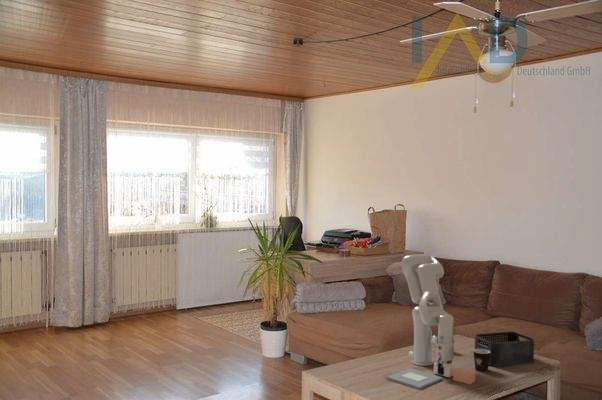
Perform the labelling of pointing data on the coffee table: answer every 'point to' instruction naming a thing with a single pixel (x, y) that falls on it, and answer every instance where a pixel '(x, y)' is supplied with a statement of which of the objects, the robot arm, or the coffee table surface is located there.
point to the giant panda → (436, 339)
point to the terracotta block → (464, 375)
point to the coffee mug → (482, 359)
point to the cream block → (445, 369)
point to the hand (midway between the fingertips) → (444, 372)
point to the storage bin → (506, 348)
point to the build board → (414, 378)
